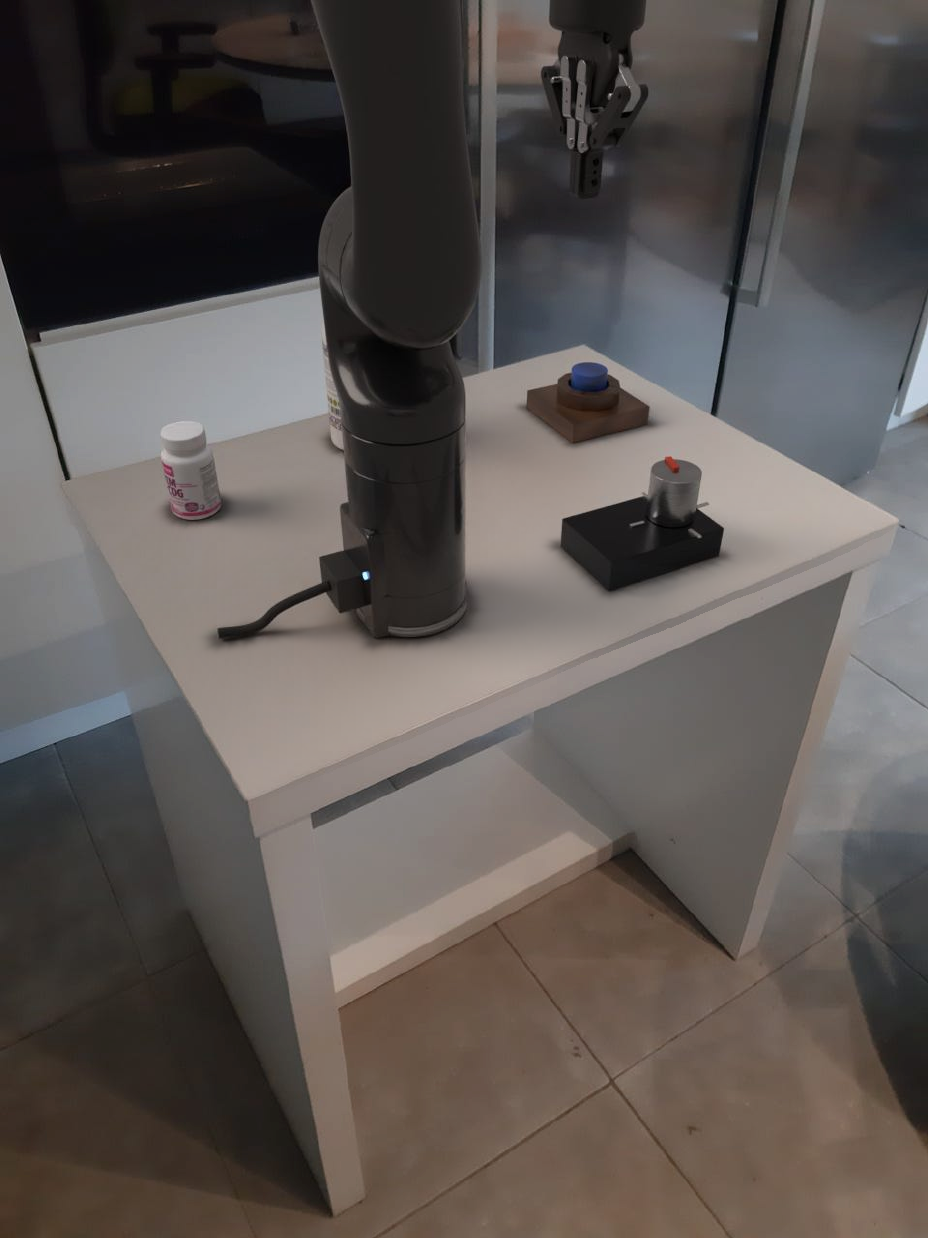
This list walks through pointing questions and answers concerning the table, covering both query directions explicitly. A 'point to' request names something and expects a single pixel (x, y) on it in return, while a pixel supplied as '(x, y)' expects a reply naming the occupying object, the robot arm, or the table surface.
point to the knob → (673, 492)
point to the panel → (636, 542)
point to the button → (589, 377)
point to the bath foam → (332, 400)
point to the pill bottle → (189, 471)
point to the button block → (587, 409)
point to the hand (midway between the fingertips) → (584, 196)
